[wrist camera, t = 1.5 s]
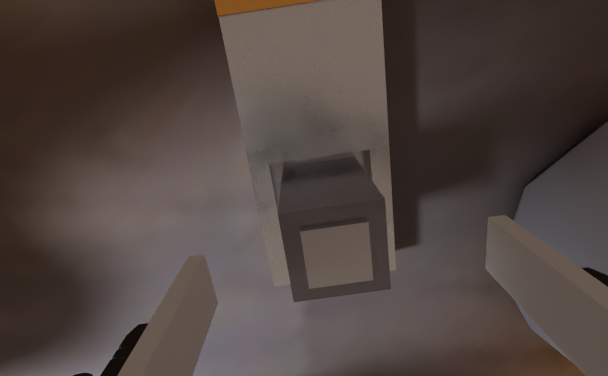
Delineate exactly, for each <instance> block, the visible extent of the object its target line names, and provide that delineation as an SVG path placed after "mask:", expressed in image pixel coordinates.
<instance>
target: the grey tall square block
mask: <svg viewBox="0 0 608 376" xmlns="http://www.w3.org/2000/svg"><path fill="white" fill-rule="evenodd" d="M278 219H279V224H280V229H281V235H282V240H283V246H284V251H285V256H286V262H287V267H288V273H289V278H290V283H291V289H292V294H293V300H294V302H299V301H306V300H313V299H321V298H328V297H335V296H342V295H350V294H357V293H364V292H372V291H379V290H386V289H391V285H390V269H389V253H388V237H387V221H386V205H385V198H384V197H383V195H382V194H381V192H380V191H379V190H378V188H377V187H376V185H375V184H374V183H373V181H372V180H371V178H370V177H369V176H368V174H367V173H366V171H365V170H364V169H363V167H362V166H361V164H360V163H359V162H358V160H357V159H356V157H355V156H354V157H347V158H340V159H333V160H326V161H319V162H312V163H305V164H298V165H292V166H285V167H283V171H282V180H281V189H280V198H279V207H278Z"/></svg>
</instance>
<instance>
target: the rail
mask: <svg viewBox="0 0 608 376" xmlns="http://www.w3.org/2000/svg"><path fill="white" fill-rule="evenodd" d="M214 1H215V6H216V10H217V15H218V17H219V22H220V27H221V31H222V36H223V41H224V46H225V51H226V56H227V60H228V65H229V70H230V75H231V80H232V85H233V90H234V94H235V99H236V104H237V109H238V114H239V119H240V124H241V128H242V133H243V138H244V143H245V148H246V153H247V157H248V162H249V167H250V172H251V177H252V182H253V187H254V191H255V196H256V201H257V206H258V211H259V216H260V221H261V225H262V230H263V235H264V240H265V245H266V250H267V255H268V259H269V264H270V269H271V274H272V279H273V284H274V287H277V286H284V285H291V283H290V278H289V273H288V267H287V262H286V256H285V251H284V246H283V240H282V235H281V229H280V224H279V219H278V207H279V198H280V189H281V180H282V171H283V167H285V166H292V165H298V164H305V163H312V162H319V161H326V160H333V159H340V158H347V157H354V156H355V157H356V159H357V160H358V162H359V163H360V164H361V166H362V167H363V169H364V170H365V171H366V173H367V174H368V176H369V177H370V178H371V180H372V181H373V183H374V184H375V185H376V187H377V188H378V190H379V191H380V192H381V194H382V195H383V197H384V198H385V205H386V221H387V237H388V253H389V269H390V271H393V270H396V260H395V241H394V223H393V205H392V186H391V168H390V150H389V131H388V113H387V95H386V76H385V58H384V40H383V21H382V3H381V0H214Z"/></svg>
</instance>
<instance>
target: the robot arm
mask: <svg viewBox="0 0 608 376" xmlns="http://www.w3.org/2000/svg"><path fill="white" fill-rule="evenodd" d="M485 269H486V270H487V271H488V272H489V273H490V274H491V275H492V276H493V278H494V279H495V280H496V281H497V282H498V283H499V284H500V285H501V286H502V287H503V288H504V289H505V290H506V291H507V292H508V294H509V295H510V296H511V297H512V298H513V299H514V300H515V301H516V302H517V303H518V304H519V305H520V306H521V307H522V308H523V310H524V311H525V312H526V313H527V314H528V315H529V316H530V317H531V318H532V319H533V320H534V321H535V322H536V323H537V324H538V325H539V327H540V328H541V329H542V330H543V331H544V332H545V333H546V334H547V335H548V336H549V337H550V338H551V339H552V340H553V341H554V343H555V344H556V345H557V346H558V347H559V348H560V349H561V350H562V351H563V352H564V353H565V354H566V355H567V356H568V357H569V359H570V360H571V361H572V362H573V363H574V364H575V365H576V366H577V367H578V368H579V369H580V370H581V371H582V372H583V373H584V374H585V376H608V275H606V274H603V273H601V272H599V271H596V270H594V269H591V268H589V267H585V268H580V267H579V266H577V265H576V264H574V263H573V262H572V261H570V260H569V259H567V258H566V257H564V256H563V255H562V254H560V253H559V252H557V251H556V250H555V249H553V248H552V247H550V246H549V245H547V244H546V243H545V242H543V241H542V240H540V239H539V238H537V237H536V236H535V235H533V234H532V233H530V232H529V231H527V230H526V229H525V228H523V227H522V226H520V225H519V224H517V223H516V222H515V221H513V220H512V219H510V218H509V217H507V216H506V215H501V216H493V217H488V228H487V247H486V266H485ZM217 304H218V302H217V298H216V294H215V291H214V287H213V284H212V280H211V277H210V273H209V269H208V266H207V262H206V259H205V255H198V256H191V257H188V258H187V260H186V262H185V263H184V265H183V267H182V268H181V270H180V272H179V273H178V275H177V277H176V278H175V280H174V282H173V283H172V285H171V287H170V288H169V290H168V292H167V293H166V295H165V297H164V298H163V300H162V302H161V303H160V305H159V307H158V309H157V310H156V312H155V314H154V315H153V317H152V319H151V320H150V322H149V323H147V324H139V325H138V326H136V327H135V328H134V329H133V330H132V331H131V332H130V333H129V334H128V335H127V336H126V337H125V339H124V340H123V342H122V343H121V345H120V346H119V350H117V351H116V353H115V354H114V356H113V359H112V360H110V362H109V363H108V365H107V366H106V368H105V369H104V371H103V372H102V374H101V376H192V375H193V372H194V369H195V366H196V364H197V361H198V358H199V355H200V352H201V349H202V346H203V344H204V341H205V338H206V335H207V332H208V329H209V327H210V324H211V321H212V318H213V315H214V312H215V310H216V307H217ZM73 376H93V375H92V374H89V373H81V374H76V375H73Z"/></svg>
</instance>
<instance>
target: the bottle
mask: <svg viewBox="0 0 608 376" xmlns="http://www.w3.org/2000/svg"><path fill="white" fill-rule="evenodd" d="M513 221H515V222H516V223H517V224H519V225H520V226H522V227H523V228H525V229H526V230H527V231H529V232H530V233H532V234H533V235H535V236H536V237H537V238H539V239H540V240H542V241H543V242H545V243H546V244H547V245H549V246H550V247H552V248H553V249H555V250H556V251H557V252H559V253H560V254H562V255H563V256H564V257H566V258H567V259H569V260H570V261H572V262H573V263H574V264H576V265H577V266H579V267H580V268H585V267H589V268H591V269H594V270H596V271H599V272H601V273H603V274H606V275H608V122H606V123H605V124H603V125H602V126H600V127H599V128H597V129H596V130H595V131H594V132H592V133H591V134H590V135H589V136H587V137H586V138H585V139H584V140H582V141H581V142H580V143H579V144H577V145H576V146H575V147H574V148H572V149H571V150H570V151H568V152H567V153H566V154H565V155H563V156H562V157H561V158H560V159H558V160H557V161H556V162H555V163H553V164H552V165H551V166H550V167H548V168H547V169H546V170H545V171H543V172H542V173H541V174H539V175H538V176H537V177H536V178H534V179H533V180H532V181H531V182H529V183H528V184H527V185H526V186H524V188H523V191H522V194H521V197H520V200H519V203H518V206H517V209H516V213H515V216H514V219H513ZM514 301H515V300H514ZM515 302H516V301H515ZM516 304H517V306H518V307H519V309H520V311H521V313H522V314H523V316H524V318H525V319H526V321H527V323H528V325H529V326H530V328H531V329H532V330H533V331H534V332H535V333H537V334H538V335H539V336H540V337H541V338H543V339H544V340H545V341H546V342H548V343H549V344H550V345H551V346H553V347H554V348H555V349H556V350H558V351H559V352H560V353H561V354H563V355H564V356H565V357H566V358H568V359H569V357H568V356H567V355H566V354H565V353H564V352H563V351H562V350H561V349H560V348H559V347H558V346H557V345H556V344H555V343H554V341H553V340H552V339H551V338H550V337H549V336H548V335H547V334H546V333H545V332H544V331H543V330H542V329H541V328H540V327H539V325H538V324H537V323H536V322H535V321H534V320H533V319H532V318H531V317H530V316H529V315H528V314H527V313H526V312H525V311H524V310H523V308H522V307H521V306H520V305H519V304H518V303H517V302H516ZM569 360H570V359H569ZM570 361H571V360H570ZM571 362H572V361H571Z"/></svg>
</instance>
